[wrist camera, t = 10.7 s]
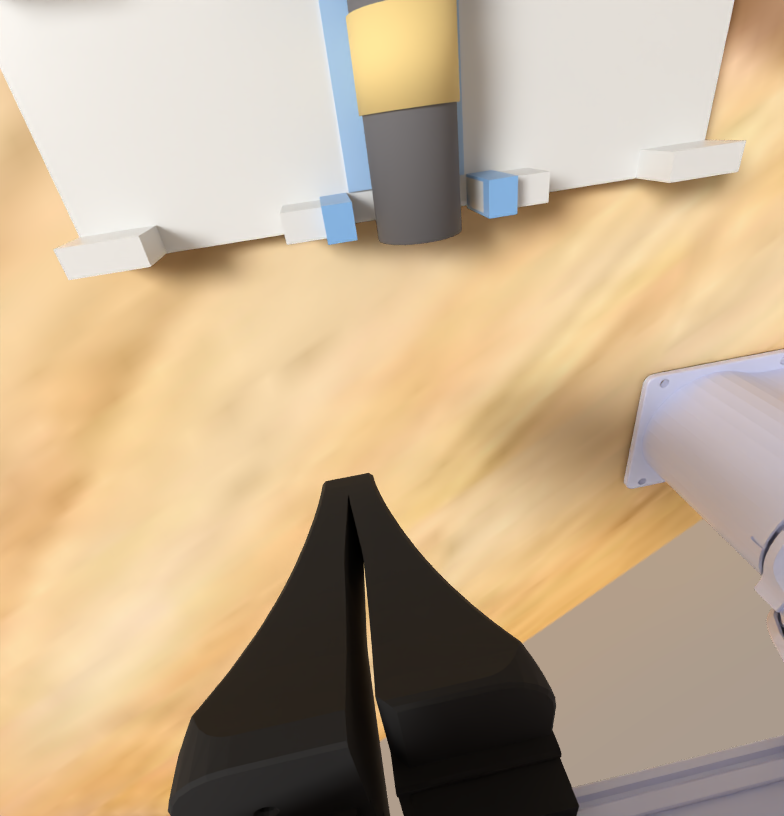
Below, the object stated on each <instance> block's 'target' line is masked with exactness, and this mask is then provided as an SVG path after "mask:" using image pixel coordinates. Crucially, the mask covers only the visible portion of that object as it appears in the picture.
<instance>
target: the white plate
mask: <svg viewBox="0 0 784 816" xmlns="http://www.w3.org/2000/svg"><path fill="white" fill-rule="evenodd" d="M456 1H457V30H458V58H459V86H460V101H459V102H457V120H458V146H459V172H460V198H461V206H465V205H467V208H468V209H470V210H472V211H474V212H476V213H479V214H481V215H483V216H485V217H487V218H489V219H490V218H496V217H503V216H509V215H515V214H517V207H523V206H530V205H536V204H542V203H548V201H549V192H553V191H559V190H565V189H572V188H578V187H584V186H590V185H597V184H603V183H609V182H615V181H622V180H628V179H634V178H638V179H645V180H652V181H659V182H666V183H672V182H678V181H684V180H690V179H697V178H703V177H709V176H715V175H721V174H727V173H734V172H738V170H739V166H740V163H741V159H742V155H743V151H744V147H745V143H746V141H745V140H705V137H706V132H707V127H708V123H709V118H710V113H711V108H712V104H713V99H714V94H715V89H716V85H717V80H718V75H719V71H720V66H721V61H722V56H723V52H724V47H725V42H726V37H727V33H728V28H729V23H730V19H731V14H732V9H733V4H734V0H456ZM348 14H349V13H348V6H347V0H0V69H1V71H2V73H3V75H4V77H5V79H6V81H7V83H8V86H9V88H10V90H11V92H12V94H13V96H14V98H15V101H16V103H17V105H18V107H19V109H20V111H21V113H22V115H23V118H24V120H25V122H26V124H27V126H28V128H29V130H30V132H31V135H32V137H33V139H34V141H35V143H36V145H37V147H38V149H39V152H40V154H41V156H42V158H43V160H44V162H45V164H46V167H47V169H48V171H49V173H50V175H51V177H52V179H53V181H54V184H55V186H56V188H57V190H58V192H59V194H60V196H61V198H62V201H63V203H64V205H65V207H66V209H67V211H68V213H69V215H70V218H71V220H72V222H73V224H74V226H75V228H76V230H77V233H78V235H79V238H77V239H75V240H72V241H70V242H68V243H66V244H64V245H62V246H59V247H57V248H55V249H53V250H54V252H55V254H56V256H57V258H58V260H59V262H60V264H61V266H62V268H63V270H64V272H65V274H66V276H67V278H68V280H72V279H78V278H84V277H91V276H97V275H103V274H109V273H115V272H122V271H128V270H134V269H140V268H146V267H151V266H152V265H154V264H155V263H156V262H157V261H158V260H159V259H161V258H162V257H163V256H164V255H165V254H167V253H172V252H178V251H185V250H191V249H197V248H203V247H210V246H216V245H222V244H228V243H234V242H241V241H247V240H253V239H259V238H266V237H272V236H278V235H285V239H286V244H287V245H288V244H295V243H301V242H307V241H313V240H319V239H326V238H327V241H328V245H331V244H337V243H343V242H349V241H355V240H357V233H356V227H355V223H359V222H366V221H372V220H376V216H375V209H374V201H373V194H372V186H371V179H370V171H369V164H368V156H367V149H366V141H365V134H364V126H363V119H362V116H359V112H358V105H357V98H356V90H355V83H354V76H353V68H352V61H351V54H350V46H349V39H348V32H347V24H346V16H347V15H348Z"/></svg>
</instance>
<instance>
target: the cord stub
mask: <svg viewBox="0 0 784 816" xmlns="http://www.w3.org/2000/svg"><path fill="white" fill-rule="evenodd" d="M347 6H348V13H349V14H348V15H347V16H346V24H347V32H348V39H349V46H350V54H351V61H352V68H353V76H354V83H355V90H356V98H357V105H358V112H359V116H362V119H363V126H364V134H365V141H366V149H367V156H368V164H369V171H370V179H371V186H372V194H373V201H374V209H375V216H376V224H377V231H378V239H379V241H380V242H382V243H385V244H391V245H412V244H422V243H429V242H434V241H439V240H443V239H447V238H450V237H453V236H455V235H457V234H459V233H460V232H461V230H462V224H461V198H460V172H459V146H458V120H457V102H459V101H460V86H459V58H458V30H457V1H456V0H347Z"/></svg>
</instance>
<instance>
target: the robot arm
mask: <svg viewBox="0 0 784 816" xmlns="http://www.w3.org/2000/svg"><path fill="white" fill-rule="evenodd" d="M663 380H664V381H663ZM662 381H663V382H662ZM661 382H662V383H661ZM660 383H661V384H660ZM662 482H667V483H668V484H669V485H670V486H671V487H672V488H673V489H674V490H675V491H676V492H677V493H678V494H679V495H680V496H681V497H682V498H683V499H684V500H685V501H686V502H687V503H688V504H689V505H690V506H691V507H692V508H693V509H694V510H695V511H696V512H697V513H698V514H699V515H700V516H701V517H702V518H703V519H704V520H705V521H706V522H707V523H709V525H710V526H712V528H714V529H715V530H716V531H717V532H718V533H719V534H720V535H721V536H722V537H723V538H724V539H725V540H726V541H727V542H728V543H729V544H730V545H731V546H732V547H733V548H734V549H735V550H736V551H737V552H738V553H739V554H740V555H741V556H742V557H743V558H744V559H745V560H746V561H747V562H748V563H749V564H750V565H751V566H752V567H753V568H754V569H756V571H757V572H758V573H759V574H760V575H761V576H762V577H761V579H760V581H759V582H758V583H757V584H756V585H755V587H754V590H756V592H757V593H758V594H759V595H760V596H761V597H762V598H763V599H764V600H765V601H766V602H767V603H768V604H769V605H770V606H771V607H772V609H771V610H770V612H769V614H768V615H767V628H768V632H769V634H770V637H771V639H772V641H773V643H774V645H775V647H776V649H777V651H778V653H779V655H780V656H781V658H782V660H783V662H784V349H782V350H777V351H771V352H766V353H761V354H756V355H750V356H745V357H740V358H735V359H729V360H724V361H719V362H714V363H708V364H703V365H698V366H693V367H688V368H682V369H677V370H672V371H667V372H661V373H656V374H652V375H650V376H648V377H647V378H646V379H645V380H644V382H643V386H642V391H641V396H640V401H639V406H638V411H637V416H636V422H635V427H634V432H633V437H632V442H631V447H630V452H629V457H628V462H627V467H626V472H625V477H624V484H625V485H626V486H627V487H628V488H630V489H633V488H638V487H643V486H648V485H652V484H657V483H662ZM364 568H365V578H366V587H367V598H368V608H369V619H370V630H371V642H372V655H373V668H374V682H375V697H376V701H377V704H378V708H379V712H380V715H381V719H382V722H383V726H384V730H385V733H386V737H387V741H388V744H389V748H390V752H391V758H392V765H393V774H394V781H395V788H396V794H397V797H399V801H400V804H401V807H402V811H403V814H404V816H784V735H780V736H776V737H772V738H768V739H764V740H760V741H756V742H753V743H749V744H745V745H740V746H736V747H732V748H728V749H724V750H720V751H716V752H712V753H708V754H704V755H701V756H696V757H692V758H688V759H684V760H680V761H677V762H672V763H668V764H664V765H660V766H656V767H653V768H649V769H644V770H641V771H637V772H632V773H629V774H624V775H620V776H616V777H613V778H609V779H604V780H600V781H596V782H592V783H588V784H584V785H580V786H577V787H571V784H570V782H569V779H568V777H567V774H566V772H565V769H564V767H563V764H562V762H561V759H560V757H561V751H560V748H559V745H558V742H557V740H556V738H555V735H554V733H553V731H552V728H553V722H554V715H555V709H556V703H555V696H554V694H553V692H552V689H551V687H550V686H549V684H548V682H547V680H546V678H545V677H544V675H543V673H542V671H541V670H540V668H539V667H538V665H537V664H536V662H535V661H534V659H533V658H532V656H531V655H530V654H529V652H528V651H527V650H526V648H525V647H524V645H523V644H522V643H521V642H520V641H519V640H518V639H516V638H515V637H513V636H512V635H511V634H509V633H508V632H506V631H505V630H504V629H502V628H501V627H500V626H498V625H497V624H496V623H494V622H493V621H492V620H490V619H489V618H488V617H487V616H485V615H484V614H483V613H482V612H481V611H479V610H478V609H477V608H476V607H474V606H473V605H472V604H471V603H470V602H469V601H468V600H467V599H465V598H464V597H463V596H462V595H461V594H460V593H459V592H458V591H457V590H456V589H454V588H453V587H452V586H451V585H450V584H449V583H448V582H447V581H446V580H445V579H444V578H443V577H442V576H441V575H440V574H439V573H438V572H437V571H436V570H435V569H434V568H433V567H432V566H431V564H430V563H429V562H428V561H427V560H426V559H425V558H424V557H423V555H422V554H421V553H420V552H419V551H418V549H417V548H416V547H415V546H414V545H413V543H412V542H411V541H410V539H409V538H408V537H407V535H406V534H405V533H404V531H403V530H402V529H401V527H400V526H399V524H398V523H397V521H396V520H395V518H394V517H393V515H392V514H391V512H390V511H389V509H388V507H387V506H386V504H385V502H384V500H383V498H382V497H381V495H380V493H379V491H378V488H377V486H376V484H375V481H374V477H373V475H371V474H369V473H366V474H361V475H356V476H351V477H346V478H340V479H335V480H330V481H326V482H325V483H324V484H323V487H322V492H321V496H320V500H319V504H318V508H317V511H316V514H315V517H314V520H313V523H312V526H311V528H310V531H309V534H308V536H307V539H306V542H305V544H304V546H303V549H302V551H301V553H300V556H299V558H298V560H297V562H296V565H295V567H294V569H293V571H292V573H291V575H290V577H289V579H288V581H287V583H286V585H285V587H284V589H283V590H282V592H281V594H280V596H279V598H278V599H277V601H276V603H275V605H274V606H273V608H272V610H271V611H270V613H269V614H268V616H267V618H266V619H265V621H264V623H263V624H262V626H261V627H260V629H259V630H258V632H257V633H256V635H255V636H254V638H253V639H252V641H251V642H250V643H249V645H248V646H247V648H246V649H245V650H244V652H243V653H242V654H241V656H240V657H239V659H238V660H237V661H236V663H235V664H234V666H233V667H232V668H231V670H230V671H229V672H228V673H227V675H226V676H225V677H224V679H223V680H222V681H221V682H220V683H219V685H218V686H217V687H216V688H215V689H214V691H213V692H212V693H211V694H210V695H209V697H208V698H207V699H206V700H205V701H204V703H203V704H202V705H201V706H200V707H199V709H198V710H197V711H196V712H195V713H194V714H193V716H192V717H191V720H190V723H189V726H188V728H187V731H186V734H185V737H184V741H183V744H182V747H181V750H180V753H179V756H178V760H177V765H176V769H175V774H174V779H173V784H172V789H171V794H170V799H169V806H168V812H169V814H170V815H171V816H390V813H389V806H388V798H387V791H386V785H385V778H384V771H383V764H382V757H381V749H380V741H379V734H378V727H377V719H376V712H375V704H374V697H373V689H372V682H371V674H370V666H369V658H368V649H367V635H366V610H365V584H364Z"/></svg>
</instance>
